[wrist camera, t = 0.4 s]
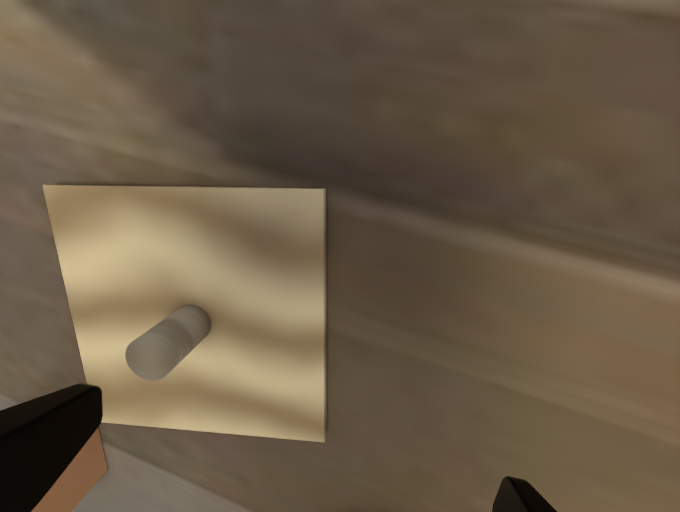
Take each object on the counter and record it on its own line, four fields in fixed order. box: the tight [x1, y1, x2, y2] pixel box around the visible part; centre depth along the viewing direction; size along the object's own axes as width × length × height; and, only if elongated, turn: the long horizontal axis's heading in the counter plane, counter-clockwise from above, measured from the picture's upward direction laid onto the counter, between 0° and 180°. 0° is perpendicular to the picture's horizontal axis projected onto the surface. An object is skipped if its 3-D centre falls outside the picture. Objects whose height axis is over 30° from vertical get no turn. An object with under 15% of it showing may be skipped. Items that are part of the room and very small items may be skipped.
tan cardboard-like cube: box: [31, 428, 108, 512], centre depth 24 cm, size 6×6×6 cm
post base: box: [43, 184, 326, 442], centre depth 20 cm, size 18×18×6 cm
